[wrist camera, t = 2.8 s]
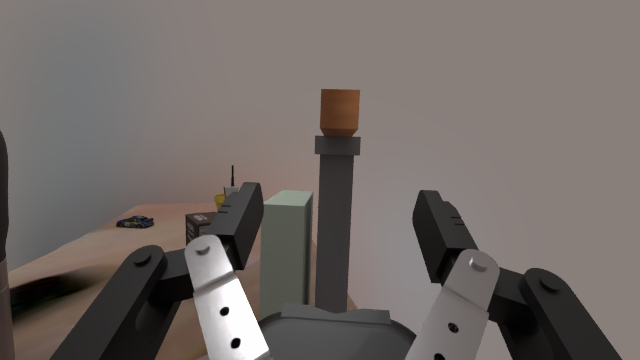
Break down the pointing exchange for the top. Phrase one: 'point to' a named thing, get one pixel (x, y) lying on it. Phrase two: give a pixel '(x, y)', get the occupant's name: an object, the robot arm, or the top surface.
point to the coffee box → (197, 225)
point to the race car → (136, 222)
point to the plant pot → (219, 200)
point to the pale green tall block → (285, 251)
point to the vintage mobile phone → (230, 187)
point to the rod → (339, 112)
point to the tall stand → (334, 220)
